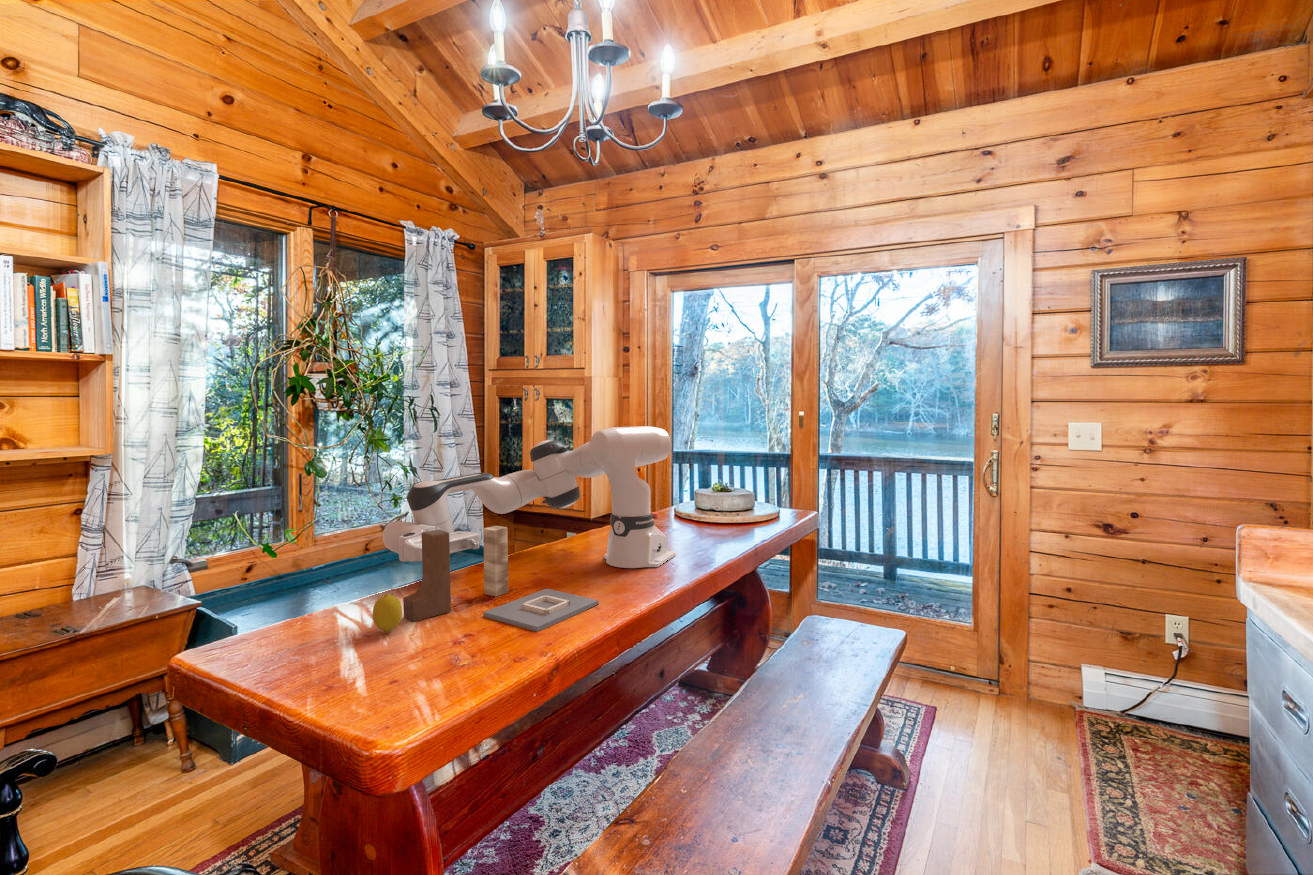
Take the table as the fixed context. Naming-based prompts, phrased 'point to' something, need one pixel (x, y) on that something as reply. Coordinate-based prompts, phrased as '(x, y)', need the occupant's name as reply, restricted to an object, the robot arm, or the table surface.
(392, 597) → the lemon
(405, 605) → the brown boot
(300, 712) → the table surface
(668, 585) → the table surface
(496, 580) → the birch column
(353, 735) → the table surface
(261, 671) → the table surface
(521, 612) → the base board
